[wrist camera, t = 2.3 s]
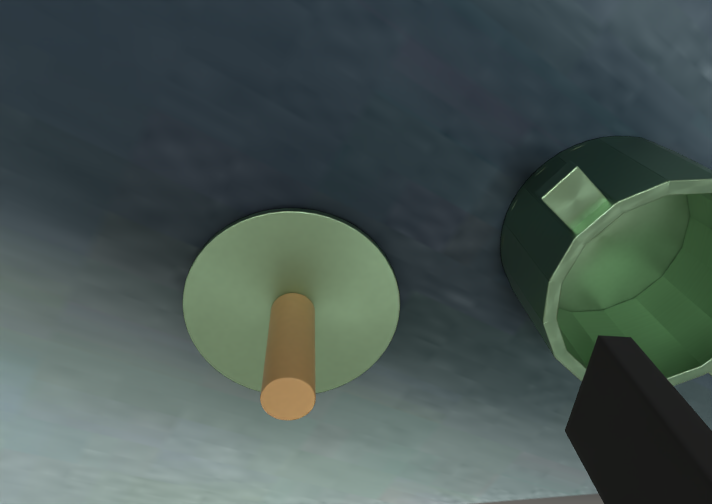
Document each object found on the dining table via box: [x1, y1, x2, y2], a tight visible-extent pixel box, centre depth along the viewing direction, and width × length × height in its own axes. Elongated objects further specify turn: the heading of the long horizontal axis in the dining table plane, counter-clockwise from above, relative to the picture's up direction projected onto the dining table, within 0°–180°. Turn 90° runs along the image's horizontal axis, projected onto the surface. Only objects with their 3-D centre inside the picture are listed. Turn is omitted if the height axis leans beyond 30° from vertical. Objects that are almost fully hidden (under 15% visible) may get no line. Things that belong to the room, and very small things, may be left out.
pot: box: [500, 136, 712, 386], centre depth 36 cm, size 14×19×8 cm
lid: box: [183, 208, 400, 420], centre depth 36 cm, size 15×15×10 cm
